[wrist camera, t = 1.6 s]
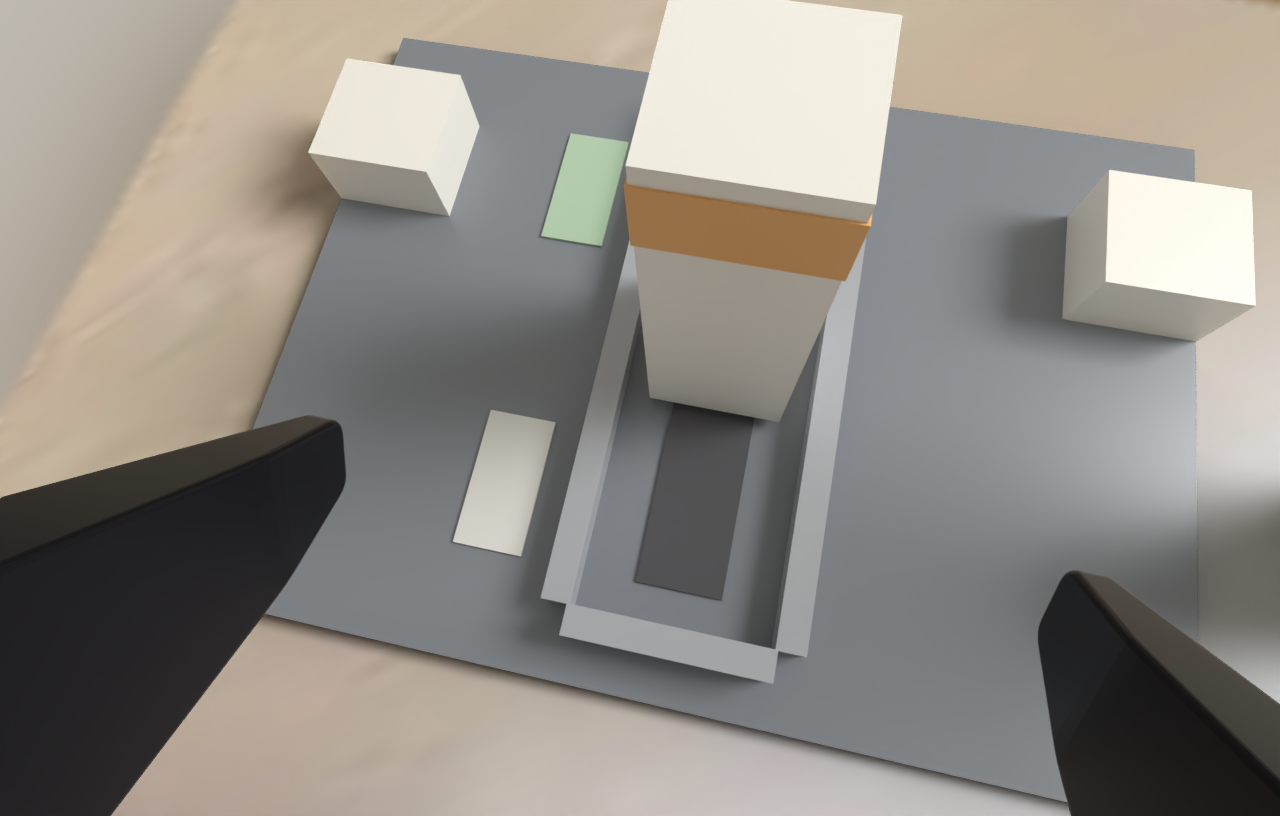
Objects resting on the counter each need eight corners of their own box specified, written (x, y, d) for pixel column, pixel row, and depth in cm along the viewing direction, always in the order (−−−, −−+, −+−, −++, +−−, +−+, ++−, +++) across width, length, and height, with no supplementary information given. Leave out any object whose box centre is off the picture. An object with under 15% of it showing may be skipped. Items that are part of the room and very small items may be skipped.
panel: (1183, 827, 19) (1273, 859, 16) (200, 597, 22) (129, 589, 19) (1182, 161, 25) (1248, 97, 22) (408, 50, 28) (378, -19, 25)
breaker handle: (780, 424, 22) (879, 207, 11) (647, 399, 22) (621, 167, 11) (799, 309, 23) (906, 13, 12) (672, 287, 23) (669, -17, 13)
